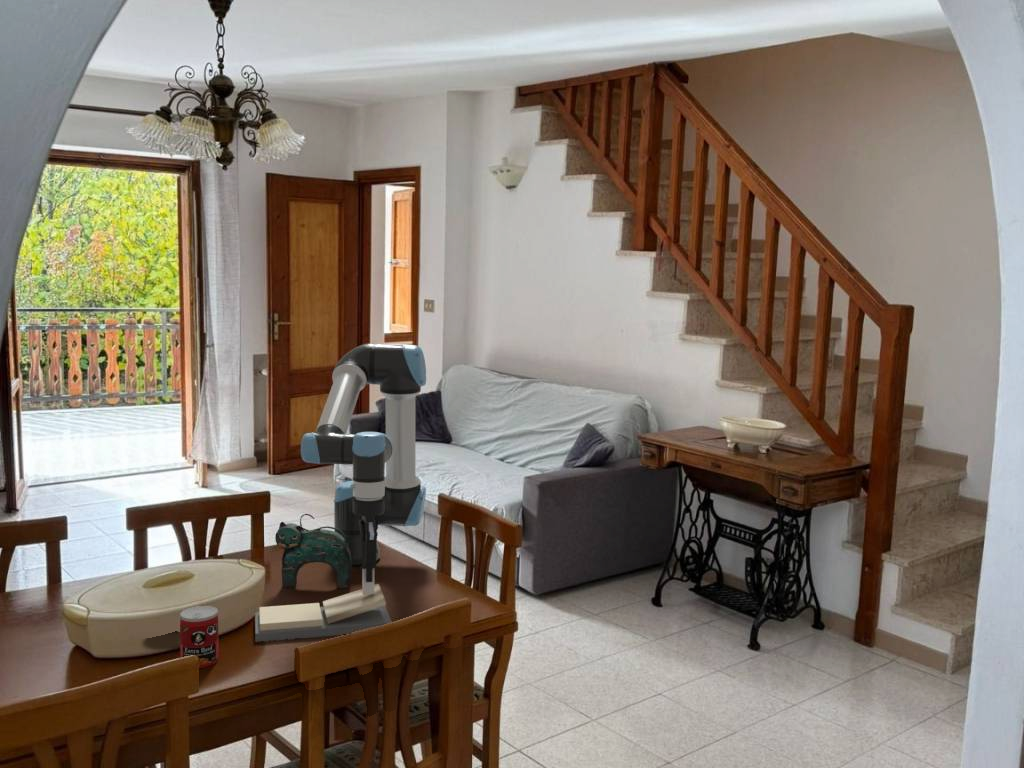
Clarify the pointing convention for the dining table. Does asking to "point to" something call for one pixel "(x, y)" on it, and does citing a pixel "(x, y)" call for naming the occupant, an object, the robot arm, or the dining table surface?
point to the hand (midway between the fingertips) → (368, 593)
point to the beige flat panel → (352, 604)
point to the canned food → (199, 634)
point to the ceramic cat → (313, 552)
